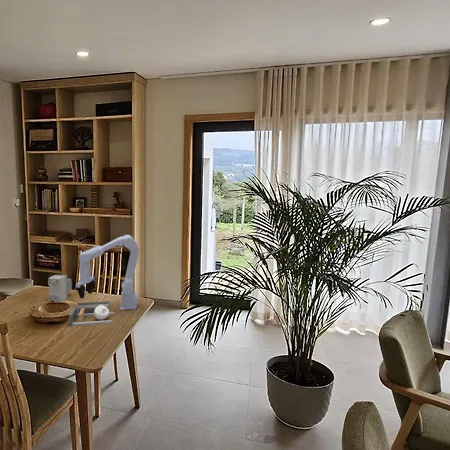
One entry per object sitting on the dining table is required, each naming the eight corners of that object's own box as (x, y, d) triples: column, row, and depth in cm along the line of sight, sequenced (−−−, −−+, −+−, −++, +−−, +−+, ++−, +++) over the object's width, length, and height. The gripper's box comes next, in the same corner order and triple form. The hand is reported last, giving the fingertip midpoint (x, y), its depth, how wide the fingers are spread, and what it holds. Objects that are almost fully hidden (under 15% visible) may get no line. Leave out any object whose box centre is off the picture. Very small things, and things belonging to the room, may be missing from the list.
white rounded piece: (99, 323, 170) (99, 309, 169) (90, 319, 174) (90, 306, 173) (111, 318, 177) (111, 305, 176) (103, 315, 181) (102, 302, 180)
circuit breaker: (73, 294, 211) (72, 272, 209) (60, 302, 197) (59, 279, 195) (62, 293, 212) (61, 271, 210) (48, 301, 198) (47, 278, 196)
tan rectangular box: (84, 316, 177) (84, 308, 177) (81, 323, 169) (81, 314, 169) (81, 316, 177) (81, 308, 176) (78, 323, 169) (78, 314, 168)
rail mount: (114, 310, 187) (114, 301, 186) (111, 322, 171) (111, 312, 170) (76, 313, 182) (75, 303, 181) (69, 325, 166) (68, 315, 165)
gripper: (86, 269, 189) (87, 290, 191) (70, 276, 175) (71, 299, 177) (97, 269, 188) (98, 291, 190) (82, 277, 174) (83, 300, 176)
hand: (86, 295), depth 183 cm, fingers open, 7 cm apart
